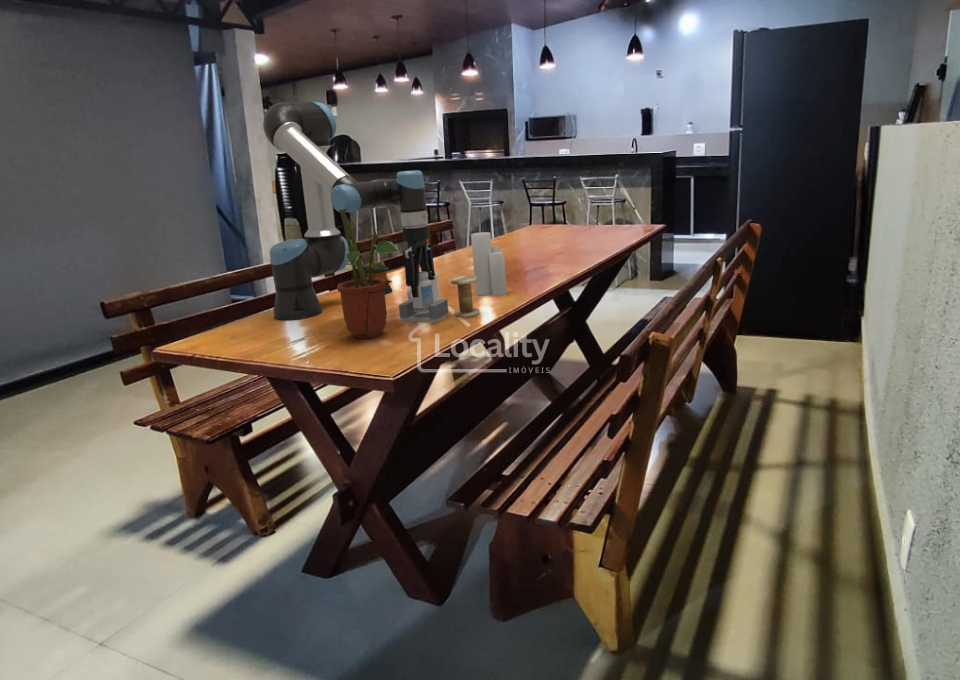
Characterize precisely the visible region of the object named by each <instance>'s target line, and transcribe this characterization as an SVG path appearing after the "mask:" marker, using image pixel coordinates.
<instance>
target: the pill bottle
mask: <svg viewBox="0 0 960 680" xmlns="http://www.w3.org/2000/svg"><path fill="white" fill-rule="evenodd" d="M418 286H421V295H422V304H423V308H413V309H414V311H415V312H429V309H428V306H429V305H431V304H433V293H432V284H431V281H430V280H428V272H422V271H419V285H418ZM411 291H412V290H411ZM412 300H413V299H412Z"/></svg>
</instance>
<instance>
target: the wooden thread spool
mask: <svg viewBox="0 0 960 680" xmlns="http://www.w3.org/2000/svg"><path fill="white" fill-rule="evenodd" d="M476 281H477V277H476V276H474V275H460V276H455V277H451V279H450V283H451V284H452V285H457V294H458V306H459V309H456V310H454V311H453V316H454V317H455V316H456V317H455V318H458V317H469V318H473V316H474V317H477V316H479V315H480V309H479V308H476V307H475V308H474V306H473V305H474V304H473V293H472V284H475V282H476Z"/></svg>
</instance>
